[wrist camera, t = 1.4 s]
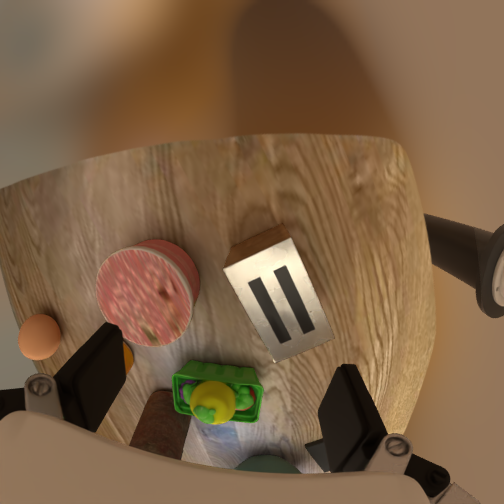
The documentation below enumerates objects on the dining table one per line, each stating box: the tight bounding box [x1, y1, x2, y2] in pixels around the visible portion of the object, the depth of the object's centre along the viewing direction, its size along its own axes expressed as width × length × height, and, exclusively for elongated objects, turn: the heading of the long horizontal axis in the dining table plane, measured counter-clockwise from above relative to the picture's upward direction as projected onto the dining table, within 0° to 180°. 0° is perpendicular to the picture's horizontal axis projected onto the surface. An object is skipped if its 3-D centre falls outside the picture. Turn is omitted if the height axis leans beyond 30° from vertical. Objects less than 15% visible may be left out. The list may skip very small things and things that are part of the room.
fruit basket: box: [172, 360, 264, 424], centre depth 30 cm, size 11×9×11 cm
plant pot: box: [233, 455, 302, 474], centre depth 36 cm, size 18×18×12 cm
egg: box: [18, 314, 61, 360], centre depth 31 cm, size 7×7×9 cm
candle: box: [129, 391, 192, 460], centre depth 28 cm, size 8×7×20 cm
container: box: [96, 239, 200, 347], centre depth 28 cm, size 10×10×8 cm
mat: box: [305, 439, 330, 472], centre depth 40 cm, size 13×13×1 cm
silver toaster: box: [223, 223, 335, 363], centre depth 28 cm, size 6×12×8 cm, turn 26°
